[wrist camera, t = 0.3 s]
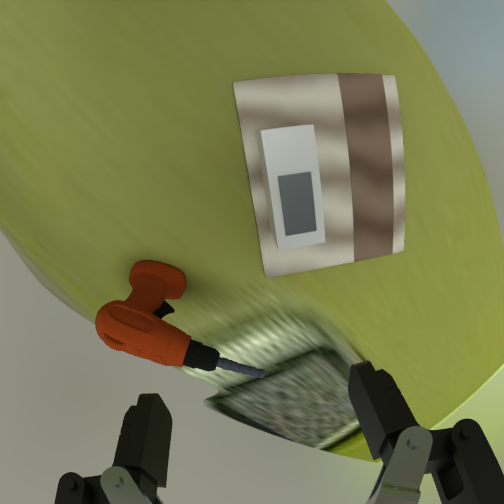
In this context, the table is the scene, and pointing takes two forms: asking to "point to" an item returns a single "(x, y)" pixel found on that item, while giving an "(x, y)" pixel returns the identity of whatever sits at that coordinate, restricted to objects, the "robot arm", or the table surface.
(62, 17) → the table surface
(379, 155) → the subfloor panel
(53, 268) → the table surface
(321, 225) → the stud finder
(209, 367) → the toy drill
